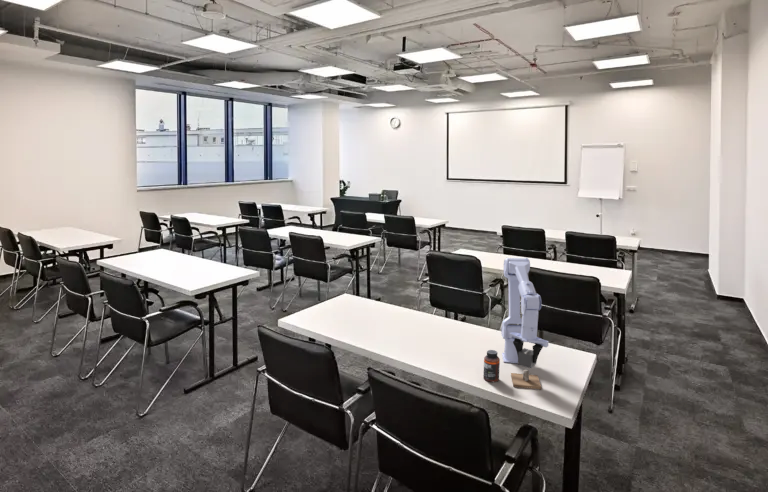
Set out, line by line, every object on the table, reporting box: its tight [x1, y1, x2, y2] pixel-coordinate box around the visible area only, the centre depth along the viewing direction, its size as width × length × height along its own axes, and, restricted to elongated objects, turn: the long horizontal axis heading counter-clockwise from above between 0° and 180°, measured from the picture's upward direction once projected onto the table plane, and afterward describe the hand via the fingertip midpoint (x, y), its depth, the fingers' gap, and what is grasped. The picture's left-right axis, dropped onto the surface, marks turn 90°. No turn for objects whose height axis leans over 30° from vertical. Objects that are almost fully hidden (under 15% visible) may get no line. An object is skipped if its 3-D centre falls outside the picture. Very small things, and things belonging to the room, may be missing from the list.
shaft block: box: [510, 369, 542, 390], centre depth 180 cm, size 10×10×4 cm
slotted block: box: [517, 347, 537, 369], centre depth 178 cm, size 5×5×6 cm
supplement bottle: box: [483, 349, 501, 383], centre depth 181 cm, size 6×6×11 cm
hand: (527, 360), depth 178 cm, fingers closed on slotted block, 5 cm apart
